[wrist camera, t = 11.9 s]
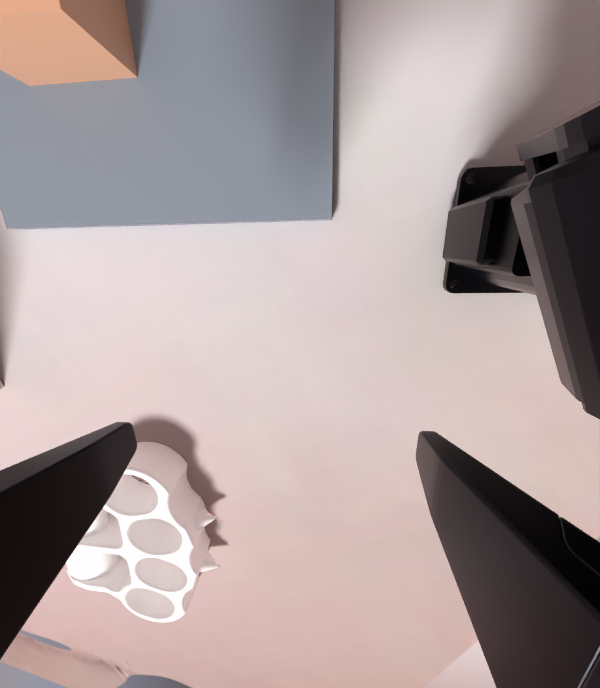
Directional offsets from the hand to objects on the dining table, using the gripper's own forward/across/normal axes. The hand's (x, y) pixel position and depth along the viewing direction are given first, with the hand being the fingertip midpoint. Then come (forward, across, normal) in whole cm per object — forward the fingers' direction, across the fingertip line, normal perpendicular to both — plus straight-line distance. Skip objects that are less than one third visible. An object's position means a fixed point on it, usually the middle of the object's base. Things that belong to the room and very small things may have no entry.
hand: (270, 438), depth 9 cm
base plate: (+11, +8, -15) cm, 20 cm away
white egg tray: (+12, +15, +18) cm, 26 cm away
